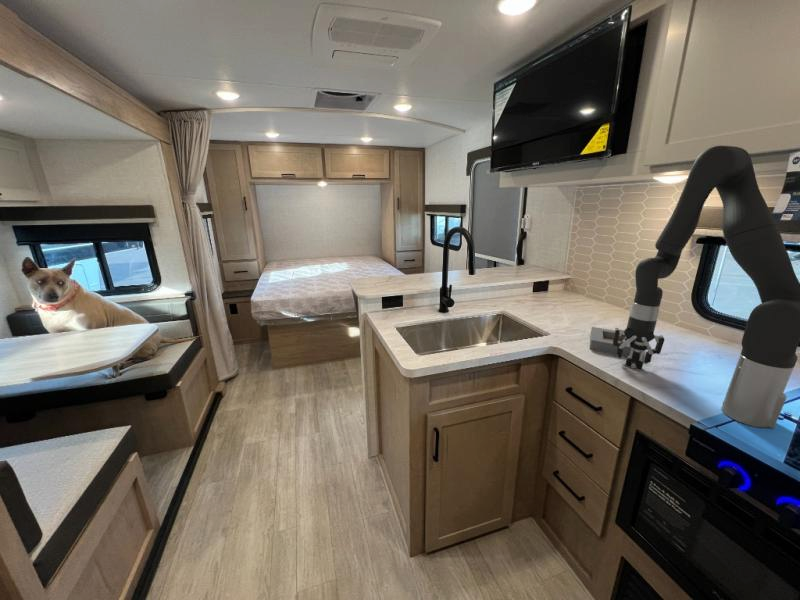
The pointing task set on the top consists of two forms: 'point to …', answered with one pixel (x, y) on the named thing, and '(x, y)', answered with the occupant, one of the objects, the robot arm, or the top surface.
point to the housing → (607, 341)
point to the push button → (636, 355)
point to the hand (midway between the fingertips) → (632, 359)
